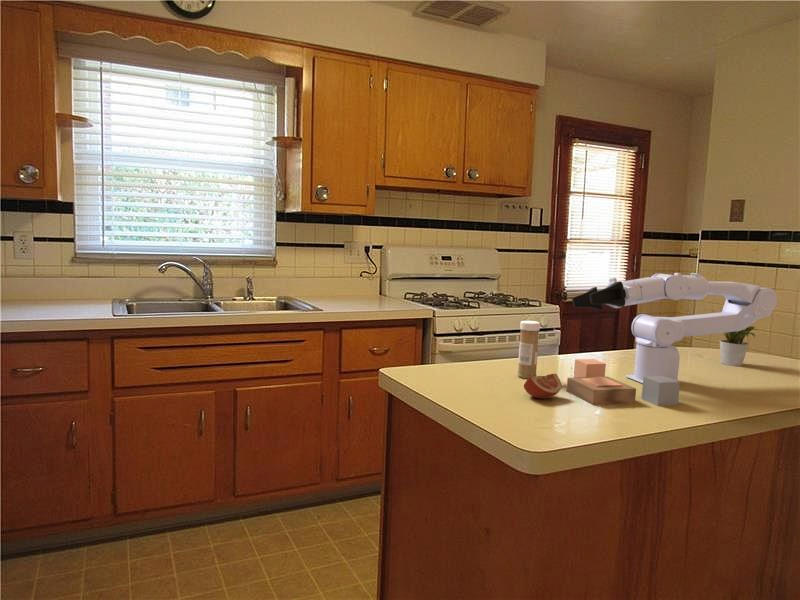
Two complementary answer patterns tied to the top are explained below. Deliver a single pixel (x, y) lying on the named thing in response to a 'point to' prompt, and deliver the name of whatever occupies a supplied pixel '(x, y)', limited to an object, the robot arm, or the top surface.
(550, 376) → the fruit slice
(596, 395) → the walnut plinth
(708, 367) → the top surface
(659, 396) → the slate cube
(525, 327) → the sprinkles bottle
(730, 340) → the house plant
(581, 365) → the terracotta cube
